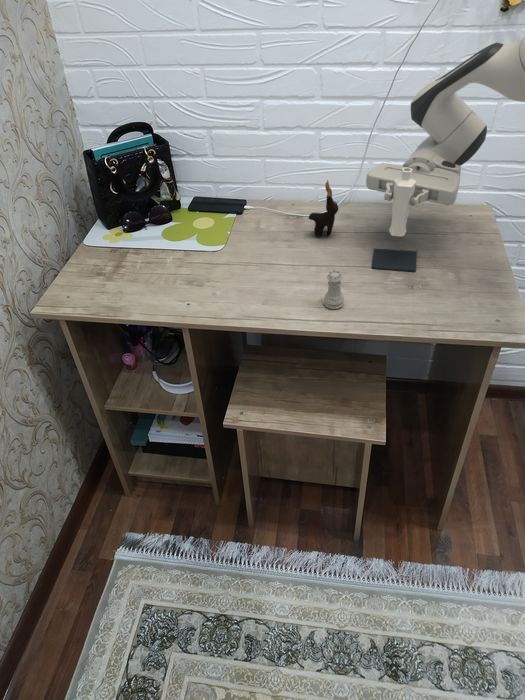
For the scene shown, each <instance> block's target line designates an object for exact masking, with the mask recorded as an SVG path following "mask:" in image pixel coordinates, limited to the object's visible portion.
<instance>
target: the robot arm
mask: <svg viewBox="0 0 525 700" xmlns="http://www.w3.org/2000/svg"><path fill="white" fill-rule="evenodd" d="M470 84H479V85H482V86H485V87H486V88H490V89H491V90H493V91H495V92H497V93H499V94H500V95H502V96H503V97H505V98H507V99H509V100H512V101H516V102H519V103H520V102H521V103H525V36H524V37H523V38H521V39H520V40H518V41H515V42H512V43H511V42H510V43H501V42H494V43H491V44H489V45H488V46H486V47H484V48H482V49H480V50H479V51H478V52H475V54H473V55H472V56H470V57H468V58H467V59H465V60H464V61H463V62H461V63H460V64H458V65H457V66H455V67H454V68H452V69H451V70H449V71H448V72H447V73H445V74H443V75H442V76H441V77H439V78H437V79H435V80H434V81H432V82H430V83H428V84H426V85H425V86H423V87H422V88H421V89H420V90H419V91H418V92H417V93H416V95H414V97H413V99H412V101H411V102H410V118H411V120H412V121H413V122H414V123H415V124H416V125H418V126H419V127H420V128H421V129H423V130H424V131H425V132H426V133H427V134H428V135H429V136H428V137H426V138H425V139H424V140H423V141H421V142H420V143H419V145H418V146H417V148H416V149H415V150H414V151H413V152H412V153H411V154H410V155H409V157H408V158H407V159H406V160H405V162H404V163H403V164H402V165H397V164H393V163H385V162H383V163H379V164H377V165H376V166H373V168H372V169H370V170H369V171H368V172H367V173H366V178H365V179H366V180H365V186H366V188H367V189H368V190H371V191H376V192H380V193H384V197H383V199H384V200H385V201H389V202H391V201H393V193H394V180H395V179H397V178H401V176H402V168H406V167H408V168H411V169H413V170H412V172H411V178H412V179H414V180H416V185H415V189H414V194H413V196H412V197H411V199H410V205H411V207H412V206H413V207H418V205H419V204H422V203H426V202H429V203H433V204H439V205H444V206H452V205H454V204H455V203H456V201H457V197H458V193H459V188H460V182H461V171H462V167H461V166H463V165H464V164H466V163H467V162H468V161H469V160H471V158H472V157H474V156H475V154H476V153H477V152H478V151H479V149H481V147H482V145H483V144H484V142H485V141H486V137H487V133H488V126H487V124H486V123H485V122H484V121H483V119H482V118H480V116H479V115H478V114H477V113H476V112H475V111H474V110H473V109H471V108H470V106H469V105H468V104H467V103H466V102H465V101H464V100H463V99H462V98H461V97H460V96H459V94H458V93H457V92H458V91H460V90H462V89H463V88H465V87H466V86H469V85H470Z"/></svg>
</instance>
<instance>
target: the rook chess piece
mask: <svg viewBox="0 0 525 700" xmlns="http://www.w3.org/2000/svg"><path fill="white" fill-rule="evenodd" d="M343 277H344V276H343V275H342V272H341V271H340V270H336V269H333V270H330V271H329V272H328V274H327V276H326V279H327V280H328V281H327V285H328V287H327V292H326V293H325V295H324V297H323V305H324V307H326V308H327V309H329V310H338V309H341V307H343V306H344V304H345V297H344V295H343V293H342V292H341V285H342V280H343Z"/></svg>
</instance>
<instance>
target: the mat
mask: <svg viewBox="0 0 525 700" xmlns="http://www.w3.org/2000/svg"><path fill="white" fill-rule="evenodd" d="M417 254H418V250H405V249H391V248H377V247H373V254H372V260H371V267H370V269H371V270H381V271H394V272H395V271H396V272H407V273H416V272H417V257H418V256H417Z"/></svg>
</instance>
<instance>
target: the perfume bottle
mask: <svg viewBox="0 0 525 700" xmlns="http://www.w3.org/2000/svg"><path fill="white" fill-rule="evenodd" d="M412 170H413V169H411V168H408V167H406V168H402V176H401V178H397V179H395V180H394V193H393V199H392V210H391V223H390V227H389V229H388V231H389V234H390V235H391V236H393V237H404V236H405V235H406V233H407V222H408V218H409V214H410V209H411V207H412V205H410V199H411V197H412V196H413V194H414V189H415V185H416V180H414V179H412V178H411V172H412Z"/></svg>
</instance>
